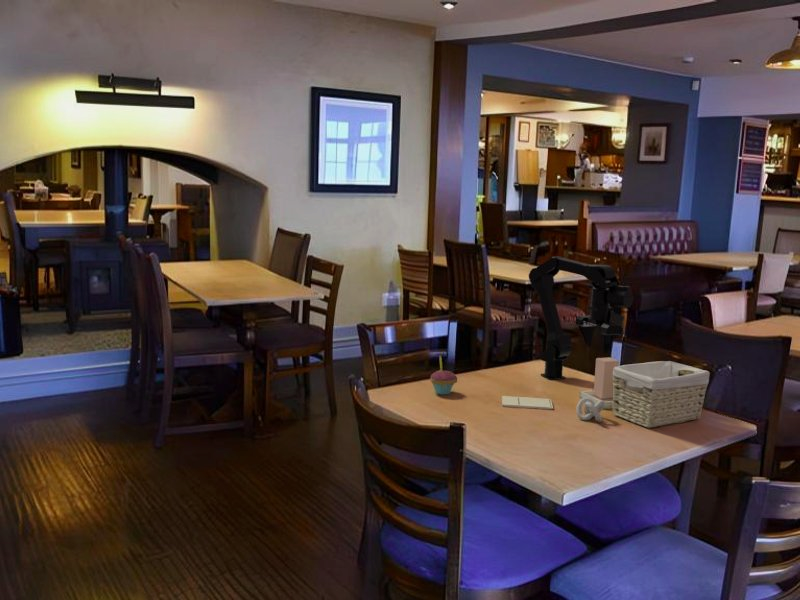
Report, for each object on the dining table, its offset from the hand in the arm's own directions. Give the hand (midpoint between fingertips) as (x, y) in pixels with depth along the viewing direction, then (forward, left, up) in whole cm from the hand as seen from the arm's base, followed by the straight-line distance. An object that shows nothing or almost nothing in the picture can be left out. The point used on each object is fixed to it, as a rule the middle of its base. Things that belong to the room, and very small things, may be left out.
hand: (597, 350), depth 233 cm
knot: (+28, -20, -13) cm, 37 cm away
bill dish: (+14, -6, -13) cm, 20 cm away
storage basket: (+31, 0, -13) cm, 34 cm away
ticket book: (+9, -30, -13) cm, 34 cm away
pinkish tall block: (+14, -6, -12) cm, 20 cm away
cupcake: (-8, -51, -13) cm, 53 cm away
